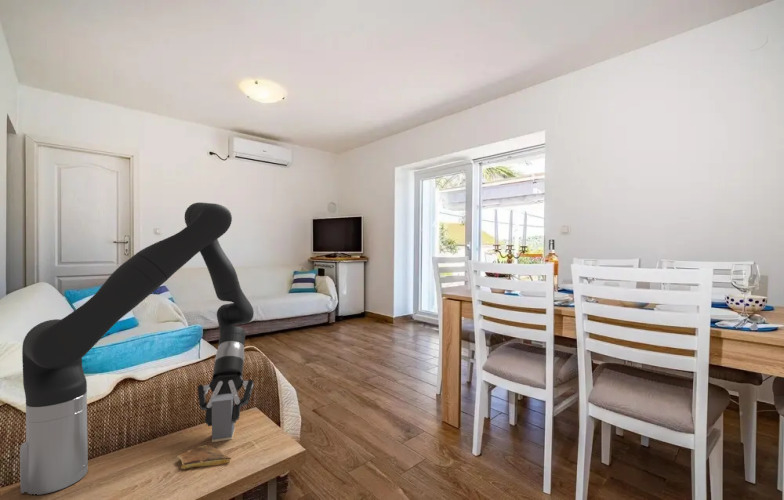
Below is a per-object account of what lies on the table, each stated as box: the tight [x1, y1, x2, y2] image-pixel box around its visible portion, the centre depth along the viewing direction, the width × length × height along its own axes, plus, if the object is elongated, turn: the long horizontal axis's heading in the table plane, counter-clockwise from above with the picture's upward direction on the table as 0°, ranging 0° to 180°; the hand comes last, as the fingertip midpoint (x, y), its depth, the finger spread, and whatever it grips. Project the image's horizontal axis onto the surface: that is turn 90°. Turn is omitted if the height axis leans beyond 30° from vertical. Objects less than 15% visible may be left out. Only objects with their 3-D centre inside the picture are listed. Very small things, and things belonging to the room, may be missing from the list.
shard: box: [177, 444, 232, 470], centre depth 79 cm, size 11×8×2 cm
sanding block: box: [211, 393, 236, 443], centre depth 90 cm, size 5×5×10 cm
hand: (222, 422), depth 88 cm, fingers open, 5 cm apart
